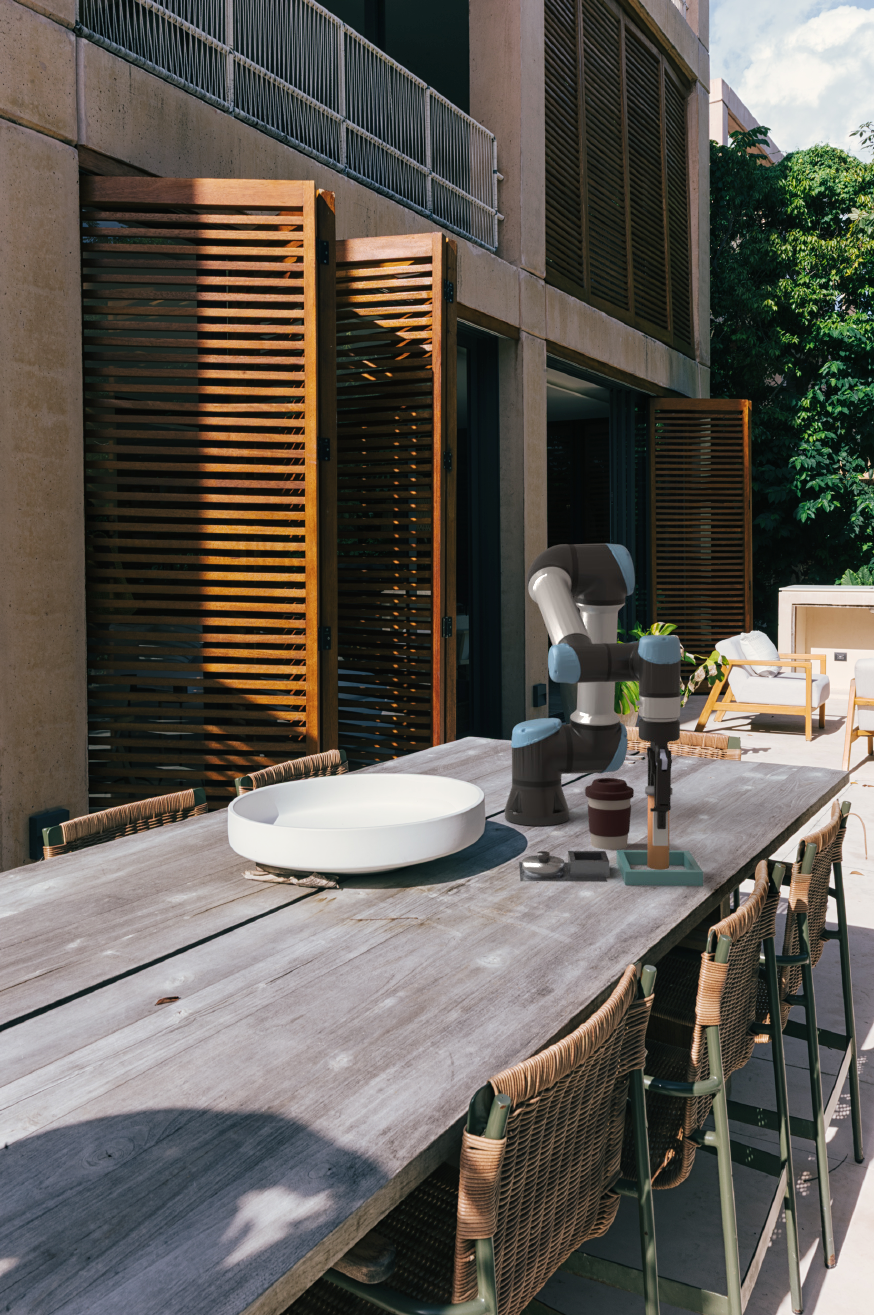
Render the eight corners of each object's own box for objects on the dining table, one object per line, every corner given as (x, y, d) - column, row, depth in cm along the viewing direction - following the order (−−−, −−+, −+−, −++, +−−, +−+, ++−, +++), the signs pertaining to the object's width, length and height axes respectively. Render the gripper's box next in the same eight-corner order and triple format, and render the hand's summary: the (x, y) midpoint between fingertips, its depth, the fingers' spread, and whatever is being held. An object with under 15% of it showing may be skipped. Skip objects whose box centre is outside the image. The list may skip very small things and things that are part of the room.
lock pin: (642, 862, 194) (643, 785, 193) (669, 862, 194) (670, 785, 193) (646, 870, 189) (647, 791, 188) (673, 870, 189) (674, 791, 188)
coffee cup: (633, 859, 206) (633, 786, 205) (583, 857, 208) (583, 785, 207) (633, 846, 216) (633, 776, 215) (586, 844, 218) (586, 775, 217)
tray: (616, 870, 199) (616, 850, 199) (688, 870, 198) (688, 850, 198) (625, 892, 185) (625, 871, 185) (703, 893, 185) (703, 872, 184)
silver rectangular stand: (519, 869, 200) (519, 844, 200) (604, 870, 199) (604, 844, 199) (520, 888, 189) (520, 861, 188) (610, 889, 188) (610, 862, 187)
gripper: (632, 712, 198) (632, 830, 200) (645, 725, 181) (644, 854, 183) (671, 712, 197) (670, 830, 199) (688, 725, 180) (687, 854, 183)
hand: (658, 841), depth 191 cm, fingers closed on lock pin, 4 cm apart
